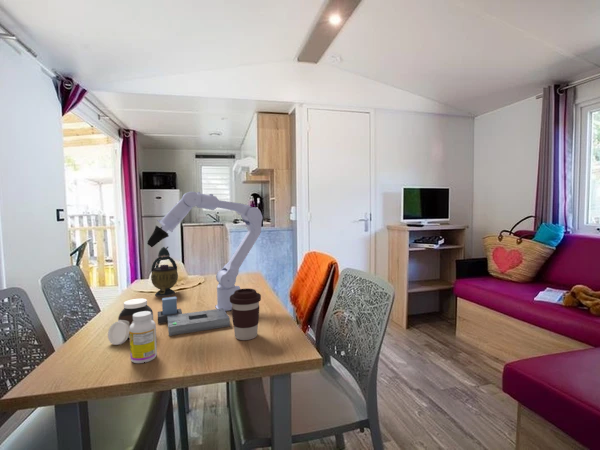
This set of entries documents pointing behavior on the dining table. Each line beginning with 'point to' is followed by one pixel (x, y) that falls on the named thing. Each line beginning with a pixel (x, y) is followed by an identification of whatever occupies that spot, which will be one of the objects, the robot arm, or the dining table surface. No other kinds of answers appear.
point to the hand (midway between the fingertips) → (149, 244)
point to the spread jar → (127, 320)
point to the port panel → (197, 321)
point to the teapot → (164, 274)
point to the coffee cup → (245, 313)
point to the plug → (169, 305)
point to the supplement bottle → (142, 338)
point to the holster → (163, 318)
